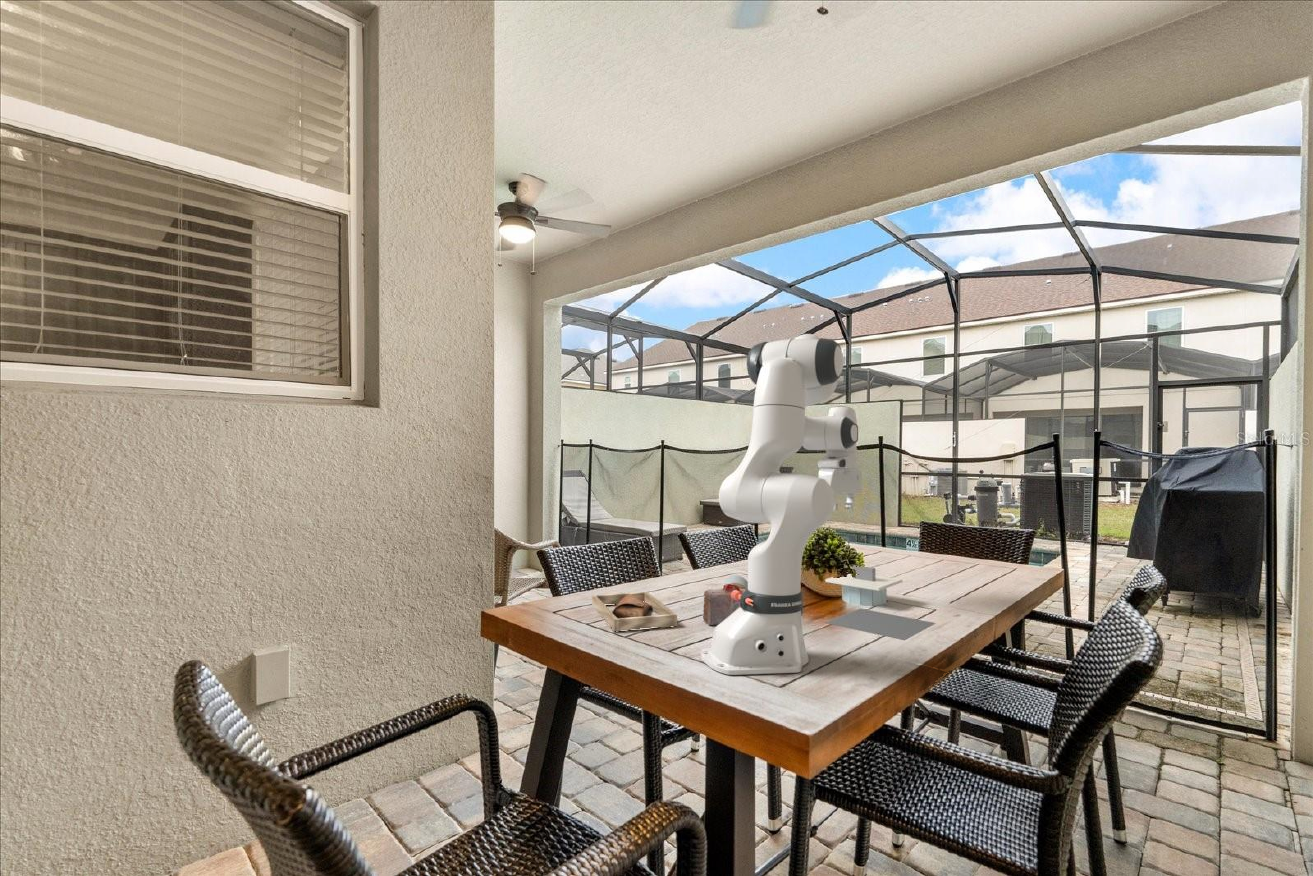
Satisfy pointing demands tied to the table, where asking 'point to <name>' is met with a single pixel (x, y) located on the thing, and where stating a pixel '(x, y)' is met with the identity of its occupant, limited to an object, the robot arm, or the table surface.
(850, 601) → the bowl
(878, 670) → the table surface
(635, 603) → the sunglasses case
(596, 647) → the table surface
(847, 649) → the table surface
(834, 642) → the table surface
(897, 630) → the mat
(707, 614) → the food item
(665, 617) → the case frame
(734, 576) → the ceramic mug
